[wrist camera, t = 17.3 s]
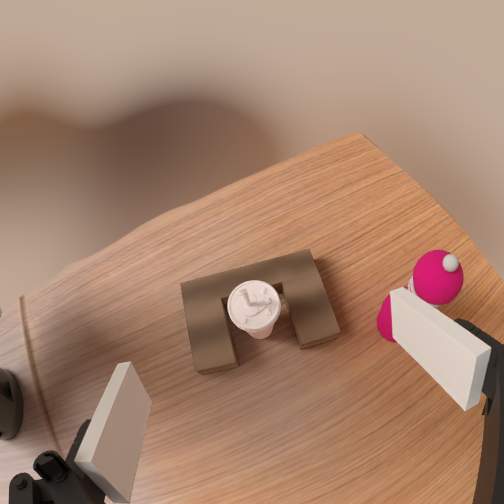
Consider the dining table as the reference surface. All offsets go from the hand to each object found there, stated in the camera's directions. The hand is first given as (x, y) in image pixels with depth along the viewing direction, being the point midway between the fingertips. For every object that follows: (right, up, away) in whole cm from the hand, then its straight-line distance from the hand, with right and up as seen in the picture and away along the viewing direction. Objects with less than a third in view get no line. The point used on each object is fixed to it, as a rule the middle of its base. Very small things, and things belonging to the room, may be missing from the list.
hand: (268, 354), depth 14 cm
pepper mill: (+21, -6, +29) cm, 36 cm away
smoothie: (0, -6, +31) cm, 32 cm away
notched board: (0, -5, +32) cm, 32 cm away
